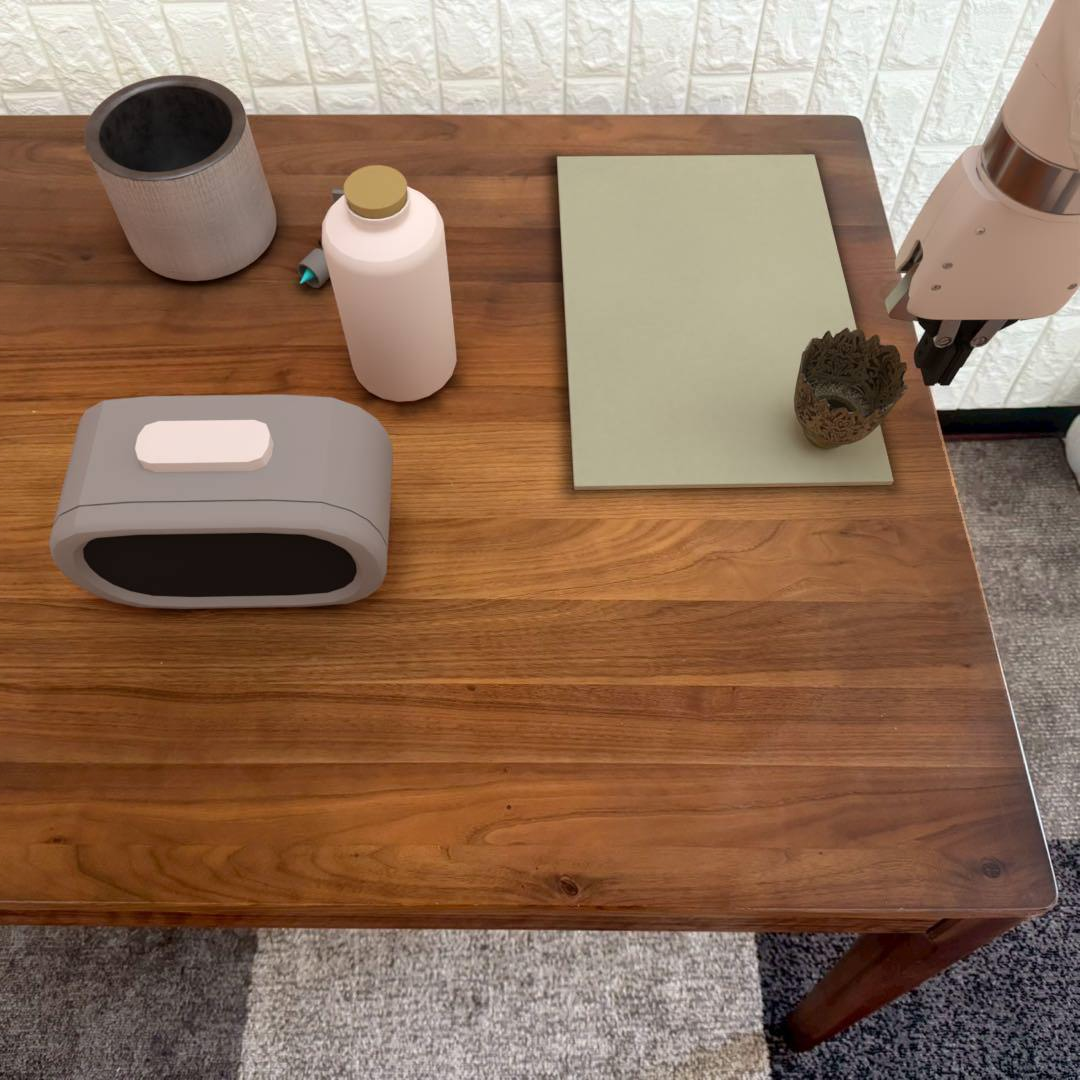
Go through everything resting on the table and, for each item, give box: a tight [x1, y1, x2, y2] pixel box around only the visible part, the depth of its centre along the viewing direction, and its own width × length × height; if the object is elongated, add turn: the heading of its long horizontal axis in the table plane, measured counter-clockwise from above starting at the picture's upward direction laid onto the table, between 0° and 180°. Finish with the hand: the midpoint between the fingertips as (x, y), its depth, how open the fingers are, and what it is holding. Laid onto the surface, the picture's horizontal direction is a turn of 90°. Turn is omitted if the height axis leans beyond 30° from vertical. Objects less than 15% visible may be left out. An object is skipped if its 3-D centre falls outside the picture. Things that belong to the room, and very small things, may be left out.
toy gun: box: [296, 188, 344, 289], centre depth 80 cm, size 10×12×5 cm
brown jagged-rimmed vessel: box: [794, 328, 909, 450], centre depth 70 cm, size 8×7×8 cm
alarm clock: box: [48, 394, 394, 610], centre depth 63 cm, size 21×10×13 cm, turn 91°
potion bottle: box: [321, 164, 457, 403], centre depth 69 cm, size 8×8×18 cm
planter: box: [83, 74, 277, 282], centre depth 79 cm, size 13×12×11 cm
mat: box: [556, 154, 894, 491], centre depth 80 cm, size 36×24×1 cm, turn 2°
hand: (931, 369), depth 68 cm, fingers closed
